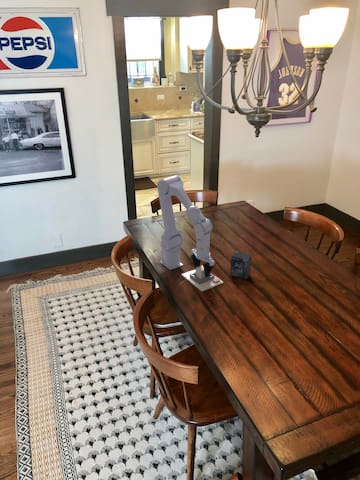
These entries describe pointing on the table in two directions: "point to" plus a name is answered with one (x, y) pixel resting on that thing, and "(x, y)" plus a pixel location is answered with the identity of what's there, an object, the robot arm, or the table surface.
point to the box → (240, 265)
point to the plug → (200, 272)
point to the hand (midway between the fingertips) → (202, 272)
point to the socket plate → (202, 280)
